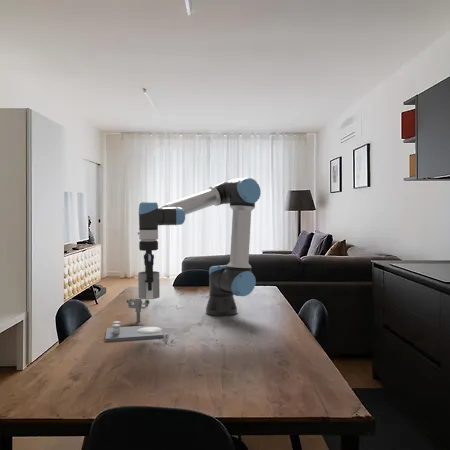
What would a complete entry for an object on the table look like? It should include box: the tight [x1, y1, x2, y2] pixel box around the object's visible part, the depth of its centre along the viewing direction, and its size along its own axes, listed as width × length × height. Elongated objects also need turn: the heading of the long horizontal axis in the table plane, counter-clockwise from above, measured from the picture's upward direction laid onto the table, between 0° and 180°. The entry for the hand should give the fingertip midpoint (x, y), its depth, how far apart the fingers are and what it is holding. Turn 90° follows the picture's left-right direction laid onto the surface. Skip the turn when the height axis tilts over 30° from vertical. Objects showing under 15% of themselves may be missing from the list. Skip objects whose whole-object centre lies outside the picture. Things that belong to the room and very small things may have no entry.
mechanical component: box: [126, 298, 150, 323], centre depth 198 cm, size 3×10×10 cm, turn 78°
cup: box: [137, 270, 161, 300], centre depth 178 cm, size 8×8×10 cm
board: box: [104, 320, 165, 343], centre depth 177 cm, size 22×16×5 cm
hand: (149, 296), depth 178 cm, fingers closed on cup, 8 cm apart
